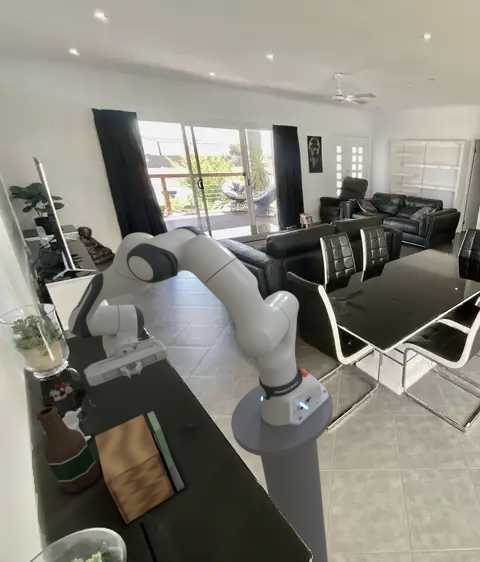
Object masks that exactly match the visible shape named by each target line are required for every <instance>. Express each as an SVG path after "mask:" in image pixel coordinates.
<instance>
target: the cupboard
mask: <svg viewBox="0 0 480 562" xmlns="http://www.w3.org/2000/svg"><path fill="white" fill-rule="evenodd" d="M153 437H154V438H153ZM154 439H155V440H154ZM94 440H95V444H96V449H97V452H98V457H99V461H100V466H101V470H102V475H103V480H104V483H105V485H106V488H107V489H108V490H109V493H110V495H111V496H112V499H113V500H114V502H115V505H116V507H117V508H118V511H119V512H120V514H121V516H122V518H123V520H124V522H125V524H127V525H128V524H129V523H130V522H132V521H134V520H135V519H137V518H138V517H140V516H142V515H143V514H145V513H146V512H147V511H150V510H152V509H153V508H154V507H156V506H158V505H159V504H161V503H162V502H164V501H166V500H167V499H169V498H170V497H171V496H173V495H175V492H174V489H173V488H172V484H171V482H170V478H169V475H170V477H171V480H172V481H173V482H172V483H173V484H174V487H175V489H176V491H177V492H180V491H182V490H183V489H184V488H185V485H184V482H183V481H182V478H181V476H180V474H179V472H178V469H177V467H176V465H175V463H174V461H173V463H174V466H173V467H171V468H168V466H167V464H166V461H165V459H164V457H163V454H162V452H161V450H160V447H159V444H158V442H157V439H156V436H155V434H154V433H153V436H152V434H151V431H150V428H149V426H148V424H147V421H146V418H145V417H144V414H141V415H138V416H136V417H134V418H132V419H129V420H127V421H124V422H123V423H121V424H119V425H116V426H115V427H112V428H110V429H108V430H106V431H103V432H101V433H100V434H97V435H95V436H94ZM155 442H156V443H155ZM156 444H157V446H158V447H157V446H156ZM158 448H159V450H158ZM159 451H160V453H159ZM160 454H161V455H162V458H163V461H164V462H165V466H166V467H167V470H168V472H169V475H168V474H167V470H166V468H165V466H164V463H163V461H162V458H161V455H160Z"/></svg>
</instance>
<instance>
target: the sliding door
mask: <svg viewBox="0 0 480 562" xmlns="http://www.w3.org/2000/svg"><path fill="white" fill-rule="evenodd" d="M146 415H147V418H148V420H149V423H150V426H151V429H152V431H153V434H155V436H156V439H157V442H158V444H159V446H158V448H159V447H160V449H159V451H160V450H161V451H160V453H161V452H162V453H161V455H162V454H163V456H162V458H163V457H164V458H163V460H164V459H165V460H164V462H165V461H166V463H165V465H166V464H167V465H166V467H167V466H168V467H167V469H168V468H171V467H173V466H174V465H175V463H173V462H174V460H173V457H172V455H171V451H170V449H169V446H168V444H167V441H166V439H165V436H164V433H163V430H162V427H161V424H160V423H159V421H158V419H157V417H156V414H155V412H154V410H152V411H150V412H148V413H146ZM156 439H155V440H156ZM157 442H156V443H157ZM158 444H157V445H158Z"/></svg>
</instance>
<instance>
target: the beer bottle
mask: <svg viewBox="0 0 480 562" xmlns="http://www.w3.org/2000/svg"><path fill="white" fill-rule="evenodd" d="M62 419H63V417H61V415H60V414H59V411H58V409H57V408H56V407H55V406H53V405H52V406H47V407H44V408H43V409H40V410H39V411H38V412H37V413H36V421H39V422H40V424H41V426H42V429H43V432H44V431H45V433H44V435H45V436H46V439H47V440H46V442H45V443H44V449H43V450H44V457H45V460H46V462H47V464H48V466H49V468H50V470H51V471H52V473H53V475H54V476H55V478H56V480H57V482H58V483H59V485H60V487H61V488H62V490H63V491H64V492H65V493H80V492H81V491H83V490H85V489H86V488H87V487H89V486H91V485H92V484H94V483H95V481H96V480H97V478H98V477H99V476H100V474H101V471H100V467H99V465H98V462H97V460H96V458H95V456H94V454H93V451H92V450H91V448H90V446H89V443H88V441H87V442H86V440H85V438H84V437H85V435H84V436H83V435H82V433H83V432H82V433H80V432H79V431H77V430H72V429H69V428H68V427H67V426H66V425H65V423H64V422H63V420H62Z"/></svg>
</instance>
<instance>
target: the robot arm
mask: <svg viewBox="0 0 480 562" xmlns="http://www.w3.org/2000/svg"><path fill="white" fill-rule="evenodd" d="M183 271H184V272H185V271H186V272H190V273H191V274H193V275H194V276H195V277H196V278H197V280H199V281H200V282H201V284H203V285H204V287H206V288H207V290H209V291H210V292H211V293H212V295H214V296H215V297H216V298H217V299H218V300H219V302H221V303H222V305H223V306H224V307H225V309H226V310H227V312H228V313H229V316H230V317H231V319H232V322H233V323H234V327H235V332H236V343H237V346H238V347H239V349H240V350H241V351H242V352H243V353H245V354H246V355H248V356H250V357H254V358H256V362H257V367H258V373H259V374H258V375H259V377H258V383H259V385H260V391H261V394H262V398H261V400H262V409H261V417H262V419H263V420H264V421H265V422H266V423H268V424H270V425H274V426H283V425H292V426H298V425H300V424H301V423H302V422H303V421H304V420H306V419H307V418H308V417H309V416H310V415H311V414H312V413H313V412H314V411H316V410H317V409H318V408H319V407H320V406H321V405H322V404H323V403H324V402H325V401H327V400H328V398H329V394H328V391H329V390H328V391H327V389H328V388H327V387H326V386H325V385H324V384H323V383H321V382H320V381H319V380H318V379H317V378H316V377H315V376H314V375H312V374H311V373H310V371H309V369H308V368H303V369H302V367H301V366H300V365H298V364H297V362H296V361H297V359H296V339H297V338H296V337H297V324H298V323H297V321H298V313H299V310H300V303H299V301H298V299H297V297H296V296H295V295H294V294H293V293H291V292H289V291H286V290H278V291H276V292H273V293H272V294H270V295H268V296H267V297H266V298H265V299H264V298H263V297H262V295H261V293H260V291H259V283H258V279H257V277H256V275H254V274H253V272H251V271H250V269H248V268H247V267H246V266H245V264H243V262H242V261H241V260H240V259H239V258H238V257H237V256H236V255H235V254H234V253H233V252H231V251H230V250H229V249H228V248H227V247H226V246H225V245H223V244H222V243H221V242H219V241H218V239H216V238H214V237H213V236H211V235H208V234H206V233H205V232H204V231H203V230H202V229H200V228H198V227H196V226H193V225H186V226H179V227H177V228H174V229H173V230H170V231H169V230H168V231H166V232H164V233H160V234H157V235H155V236H154V235H151V234H149V233H147V232H132V233H129V234H127V235H126V236H124V238H123V239H122V240H121V242H120V243H119V245H118V246H117V249H116V252H115V254H114V256H113V261H112V264H111V265H110V266H109V267H107V268H106V269H105V270H103V271H102V272H99V273H96V274H95V275H94V276H93V277H92V278H91V280H90V281H89V283H88V284H87V286H86V288H85V289H84V291H83V293H82V295H81V297H80V300H79V301H78V303H77V305H76V306H75V307H74V308H73V309H72V311H71V313H70V314H69V317H68V321H67V327H68V330H69V333H70V334H72V335H73V336H75V337H77V338H79V339H88V338H94V337H102V340H101V341H102V347H103V351H104V353H105V356H106V358H105V359H102V360H99V361H96V362H93V363H91V364H90V365H88V366H87V367H86V368H84V369H83V374H84V375H85V378H86V381H87V383H88V385H89V386H90V387H96V386H99V385H101V384H104V383H106V382H109V381H112V380H114V379H117V378H119V377H122V376H124V377H128V379H132V378H134V377H136V376H139V375H141V374H142V373H141V371H142V369H143V368H145V367H147V366H150V365H153V364H155V363H157V362H160V361H163V360H165V359H167V358H168V357H169V352H168V349H167V346H166V345H165V344H164V343H163V342H162V341H160V340H159V339H156V337H155V336H154V335H148V336H141V335H142V333H143V332H144V328H145V316H144V313H143V311H142V310H141V309H140V308H139V307H138V306H137V305H136V304H114V305H113V304H112V305H111V304H110V305H101V304H102V303H103V302H104V301H106V300H108V299H112V298H115V297H120V296H121V297H122V296H127V295H134V294H138V293H142V292H145V291H147V290H148V289H149V288H151V287H152V286H153V285H154V284H156V283H161V282H164V281H167V280H169V279H172V278H174V277H177V276H178V274H179V273H180V272H183ZM140 336H141V337H140ZM322 384H323V385H324V386H325V387H326V388H327V389H326V388H325V387H324V386H323V385H322ZM299 419H300V420H299Z"/></svg>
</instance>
